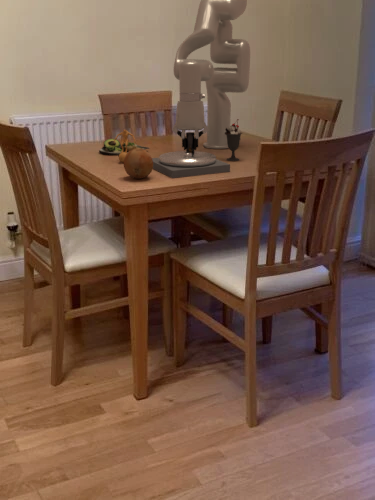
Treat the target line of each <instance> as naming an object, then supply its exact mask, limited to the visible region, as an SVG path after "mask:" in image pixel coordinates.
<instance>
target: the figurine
mask: <svg viewBox="0 0 375 500" xmlns="http://www.w3.org/2000/svg"><path fill="white" fill-rule="evenodd" d="M119 136H122V139H121V142H120V144H121V147H122V152H121V153H120V154H119V155H118V161H119V162H121V163H123V164H124V159H125V156H126V154H127V148H128V147H127V145H128V142H130V141H129V139H128V137H129V136H130V137H132V138H133V143H134V144H136V138H135V136H134V134H132V133H131V132H129V131H128V130H127V129H123V130H122V131H121V132H120V133H118V134H117V135H116V137H114V139H115V140H118V137H119ZM115 140H114V142H115ZM124 143H125V144H126V151H125V152H123V149H124V148H123V146H122V145H123V144H124Z"/></svg>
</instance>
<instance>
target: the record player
mask: <svg viewBox="0 0 375 500" xmlns="http://www.w3.org/2000/svg"><path fill="white" fill-rule="evenodd" d="M185 136H186V150H180V151H179V150H178V151H170V152H166V153H165V152H164V153H162V154H160V155H159V156H158V158H159V162H160V163H162V164H165V165H169V166H178V167H197V166H205V165H210V164H213V163H215V162H216V159H217V156H216V155H215V154H213V153H212V152H211V153H210V152H207V151H198V150H194V138H195V131H193V132H192V131H187V132H185Z"/></svg>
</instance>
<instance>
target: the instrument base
mask: <svg viewBox="0 0 375 500" xmlns="http://www.w3.org/2000/svg"><path fill="white" fill-rule="evenodd" d="M152 160H153V169H152V170H155V171H156V172H160V173H161V174H163V175H165V176H167V177H169V178H171V179H177V178H178V179H179V178H185V177H195V176H202V175H203V176H204V175H212V174H213V175H214V174H219V173H230V172H231V163H230V164H229V163H228V162H224V161H222V160H220V159H217V158H216V162H215V163H213V164H210V165H205V166H197V167H178V166H169V165H165V164H162V163H160V162H159V157H152Z"/></svg>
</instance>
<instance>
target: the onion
mask: <svg viewBox="0 0 375 500" xmlns="http://www.w3.org/2000/svg"><path fill="white" fill-rule="evenodd" d="M152 158H153V157H152V156H151V153H149V152H148V151H147V150H146V149H145V150H144V149H141V148H137V149H133V150H130V151H129V152H128V153H127V154H126V156H125V159H124V163H123V168H124V170H125V172H126V174H127V175H128V176H129V177H131V178H132V179H137V180H138V179H140V180H141V179H144V178H147V177H148V176H149V175H150V174H151V173H152V171H153V170H154V169H153V160H152Z"/></svg>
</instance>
